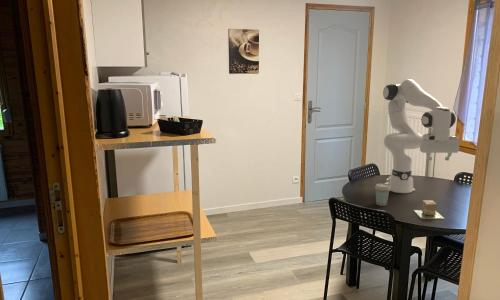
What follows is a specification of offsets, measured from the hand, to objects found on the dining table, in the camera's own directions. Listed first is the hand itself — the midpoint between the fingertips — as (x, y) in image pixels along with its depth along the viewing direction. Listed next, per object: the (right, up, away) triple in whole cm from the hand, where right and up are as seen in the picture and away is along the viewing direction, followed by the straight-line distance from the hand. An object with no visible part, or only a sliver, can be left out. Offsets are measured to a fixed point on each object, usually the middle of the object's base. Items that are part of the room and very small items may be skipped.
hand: (438, 160), depth 212 cm
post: (-7, -30, -3) cm, 31 cm away
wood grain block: (-7, -29, -4) cm, 30 cm away
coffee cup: (-27, -27, +15) cm, 41 cm away
